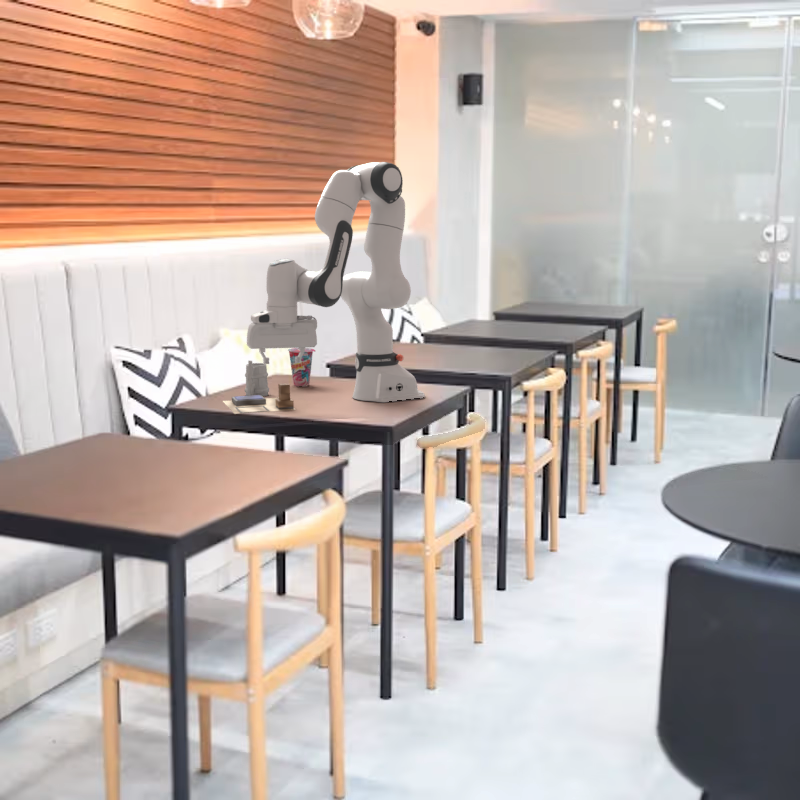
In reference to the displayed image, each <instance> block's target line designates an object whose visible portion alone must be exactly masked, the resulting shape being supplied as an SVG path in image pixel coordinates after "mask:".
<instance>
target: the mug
mask: <svg viewBox="0 0 800 800" xmlns="http://www.w3.org/2000/svg"><path fill="white" fill-rule="evenodd" d="M244 377H245V388H244V392H245V396H253V395H262V396H264V397H268V396H269V392H270V388H269V383H268V377H269V373H268V368H267V364H263V362H254V363H253V360H248V361H247V364H246V365H245V374H244Z"/></svg>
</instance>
